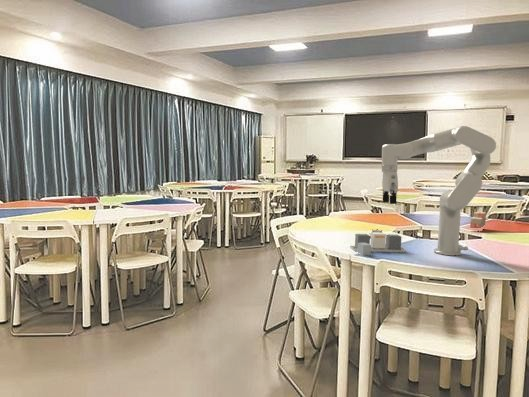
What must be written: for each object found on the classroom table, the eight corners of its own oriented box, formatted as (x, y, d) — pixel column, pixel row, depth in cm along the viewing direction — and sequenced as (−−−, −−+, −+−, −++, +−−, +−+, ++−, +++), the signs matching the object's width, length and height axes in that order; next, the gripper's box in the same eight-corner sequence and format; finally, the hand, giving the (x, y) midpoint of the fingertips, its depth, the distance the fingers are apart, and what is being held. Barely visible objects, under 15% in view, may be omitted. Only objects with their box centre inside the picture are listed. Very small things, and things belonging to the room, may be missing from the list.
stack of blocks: (479, 232, 286) (481, 214, 285) (469, 231, 290) (471, 213, 289) (485, 229, 304) (486, 212, 303) (475, 228, 307) (476, 211, 306)
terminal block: (364, 252, 210) (365, 242, 210) (370, 255, 204) (371, 245, 204) (357, 252, 209) (357, 242, 209) (362, 255, 203) (363, 245, 203)
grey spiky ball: (374, 249, 237) (375, 233, 242) (388, 246, 231) (388, 230, 236) (364, 242, 232) (366, 226, 237) (378, 239, 226) (379, 223, 231)
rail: (399, 248, 222) (400, 233, 222) (406, 252, 213) (406, 236, 213) (349, 247, 221) (350, 232, 220) (354, 251, 212) (355, 235, 211)
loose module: (381, 246, 220) (382, 232, 219) (385, 248, 215) (385, 234, 214) (370, 245, 219) (370, 232, 219) (373, 247, 214) (374, 234, 214)
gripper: (403, 169, 207) (403, 204, 208) (390, 168, 224) (390, 201, 225) (388, 169, 206) (388, 204, 208) (376, 169, 223) (376, 201, 225)
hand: (389, 202), depth 216 cm, fingers open, 9 cm apart
